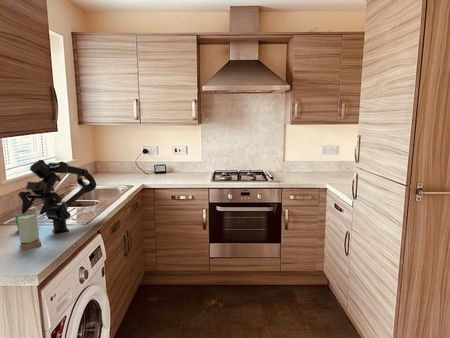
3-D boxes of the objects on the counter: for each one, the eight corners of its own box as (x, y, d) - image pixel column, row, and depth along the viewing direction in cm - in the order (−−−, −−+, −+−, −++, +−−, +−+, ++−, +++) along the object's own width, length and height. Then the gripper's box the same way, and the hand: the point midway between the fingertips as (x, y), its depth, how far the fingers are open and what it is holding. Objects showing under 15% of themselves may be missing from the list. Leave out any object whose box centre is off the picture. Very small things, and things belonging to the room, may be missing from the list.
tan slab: (20, 246, 142) (20, 240, 142) (39, 242, 146) (38, 236, 146) (22, 251, 137) (22, 245, 136) (41, 246, 141) (40, 241, 141)
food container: (26, 231, 159) (24, 212, 157) (15, 231, 160) (13, 211, 158) (44, 223, 171) (42, 205, 169) (34, 223, 172) (32, 204, 170)
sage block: (29, 238, 144) (26, 214, 143) (39, 238, 143) (36, 214, 142) (20, 242, 139) (17, 217, 138) (30, 242, 138) (27, 218, 137)
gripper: (18, 173, 146) (0, 204, 137) (54, 174, 142) (38, 205, 133) (34, 187, 155) (18, 216, 146) (68, 188, 151) (54, 218, 142)
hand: (31, 213), depth 141 cm, fingers open, 9 cm apart
